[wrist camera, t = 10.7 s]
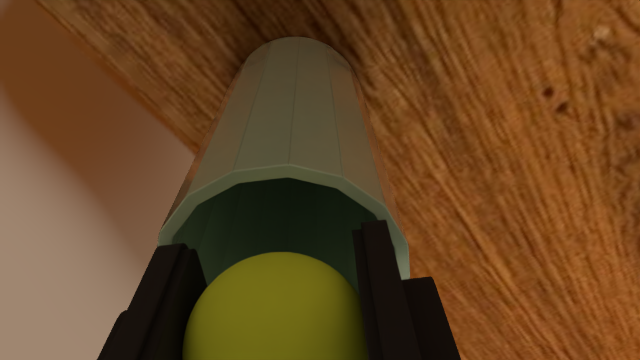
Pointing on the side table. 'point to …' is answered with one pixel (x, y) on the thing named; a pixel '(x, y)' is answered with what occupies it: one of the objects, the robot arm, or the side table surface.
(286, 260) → the ball
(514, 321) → the side table surface
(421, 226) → the side table surface
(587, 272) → the side table surface
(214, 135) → the tube
